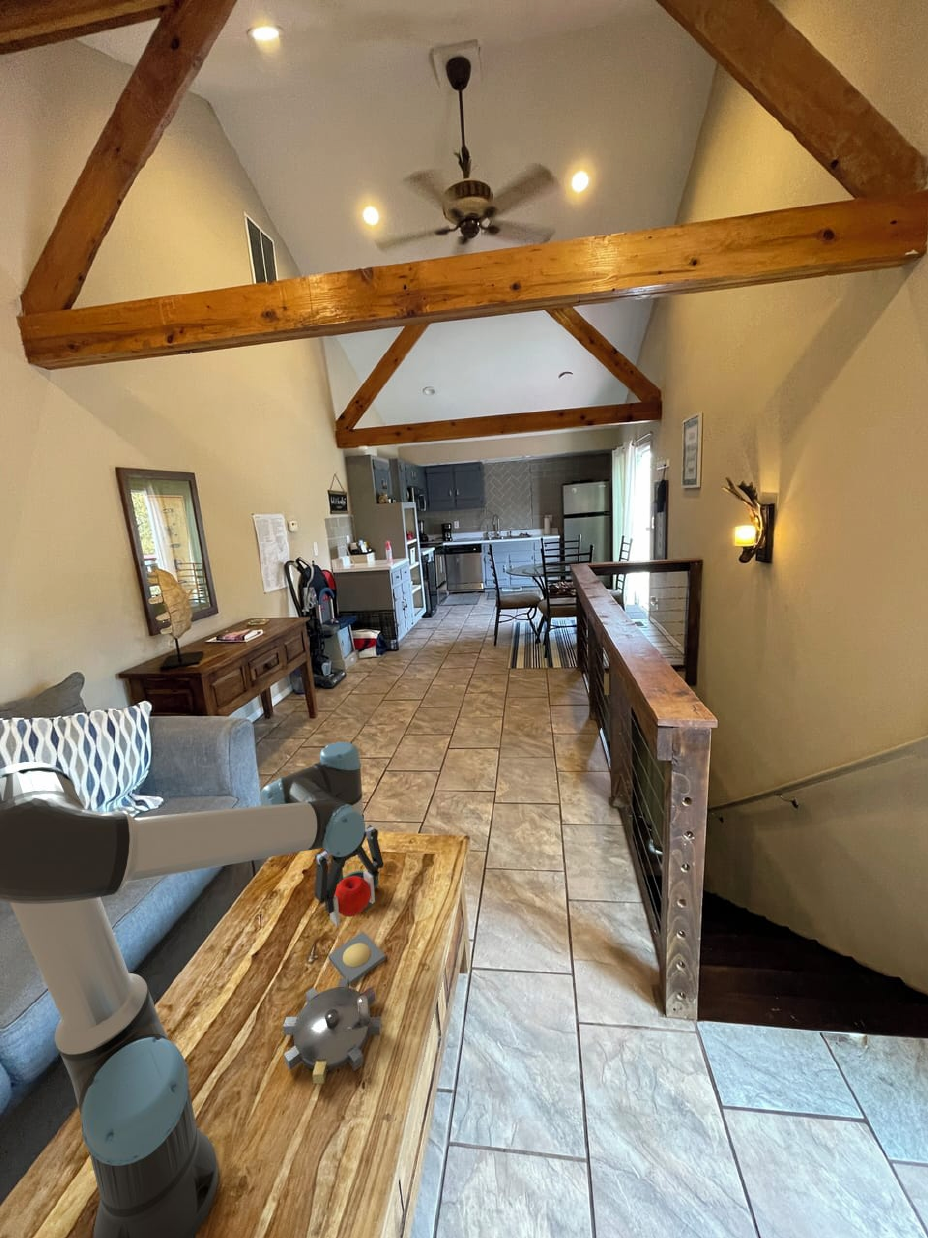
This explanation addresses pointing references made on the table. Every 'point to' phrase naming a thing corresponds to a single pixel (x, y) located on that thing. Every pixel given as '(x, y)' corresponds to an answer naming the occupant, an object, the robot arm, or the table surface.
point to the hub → (331, 1018)
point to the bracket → (359, 874)
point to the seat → (356, 957)
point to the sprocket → (331, 1030)
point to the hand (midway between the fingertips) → (353, 910)
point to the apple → (352, 895)
